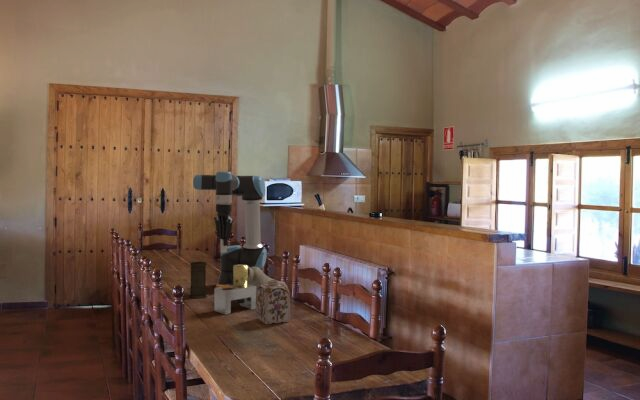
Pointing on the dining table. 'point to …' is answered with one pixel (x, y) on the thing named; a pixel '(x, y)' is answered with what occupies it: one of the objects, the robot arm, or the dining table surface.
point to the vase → (258, 277)
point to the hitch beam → (234, 298)
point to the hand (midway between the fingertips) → (223, 252)
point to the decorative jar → (273, 302)
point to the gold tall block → (240, 278)
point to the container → (198, 280)
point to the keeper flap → (226, 286)
